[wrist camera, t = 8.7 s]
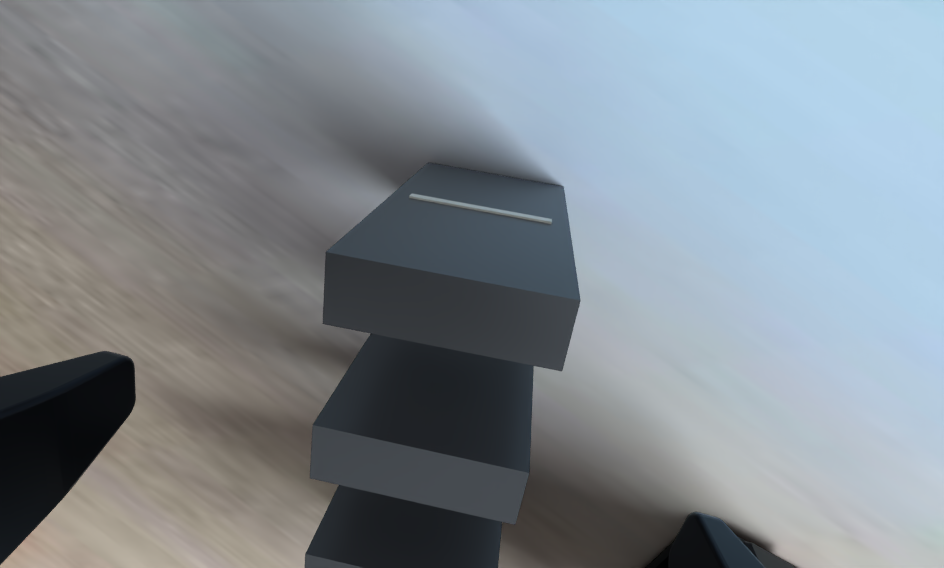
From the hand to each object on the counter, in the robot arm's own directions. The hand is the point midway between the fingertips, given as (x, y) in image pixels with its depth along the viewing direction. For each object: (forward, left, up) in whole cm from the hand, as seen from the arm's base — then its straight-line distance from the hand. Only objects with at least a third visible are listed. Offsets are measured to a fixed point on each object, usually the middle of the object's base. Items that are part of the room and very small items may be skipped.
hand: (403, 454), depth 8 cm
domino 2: (-3, -1, -13) cm, 13 cm away
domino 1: (+1, 0, -13) cm, 13 cm away
